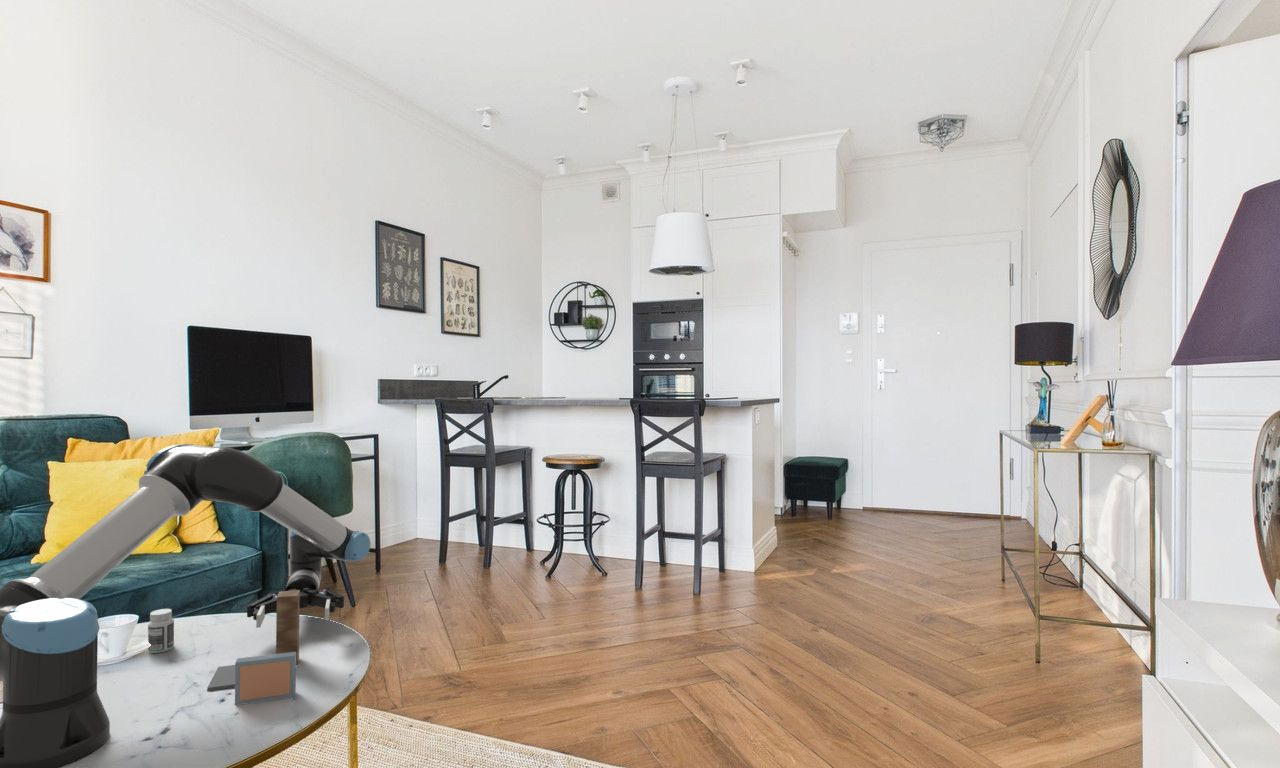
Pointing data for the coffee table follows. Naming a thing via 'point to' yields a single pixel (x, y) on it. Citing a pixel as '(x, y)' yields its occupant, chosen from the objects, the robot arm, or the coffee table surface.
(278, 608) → the tall wooden pillar
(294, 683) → the tile
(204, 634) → the coffee table surface
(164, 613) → the pill bottle
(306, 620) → the coffee table surface
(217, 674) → the plate
